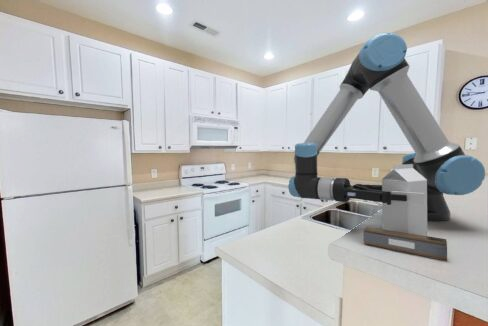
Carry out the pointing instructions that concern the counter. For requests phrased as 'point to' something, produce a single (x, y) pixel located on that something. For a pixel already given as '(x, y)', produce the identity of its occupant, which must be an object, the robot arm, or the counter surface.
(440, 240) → the price rail
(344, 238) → the counter surface
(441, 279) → the counter surface
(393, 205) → the milk carton
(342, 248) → the counter surface
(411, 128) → the robot arm
